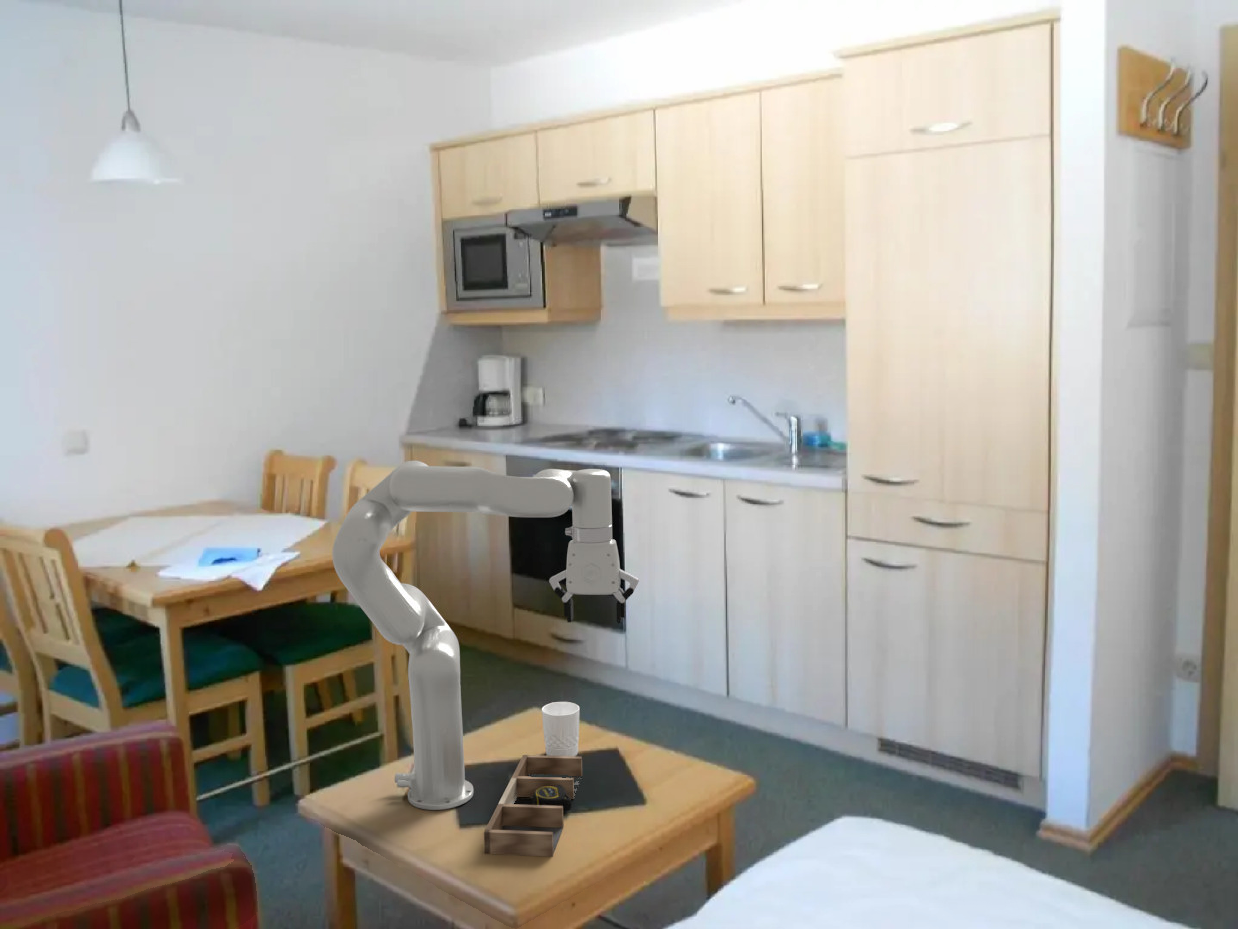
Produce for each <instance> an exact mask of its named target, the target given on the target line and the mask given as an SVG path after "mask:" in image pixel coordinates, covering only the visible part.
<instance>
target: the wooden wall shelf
mask: <svg viewBox="0 0 1238 929" xmlns="http://www.w3.org/2000/svg"><path fill="white" fill-rule="evenodd" d="M528 774H530V776H529V775H528ZM532 774H537V775H538V774H544V775H546V774H552V775H568V776H572V777H571V778H570V777H566V778H562V777H531V775H532ZM577 776H578V777H577ZM580 776H582V777H583V757H582V756H578V755H576V756H547V755H541V754H540V755H539V754H538V755H537V754H535V755H533V754H532V755H531V754H523V755H522V757H521V759H520V761H519V762H518V764H517V766H516V768H515V770H514V772H513V774H512V776H511V778H510V780H509V782H508V784H507V785H506V788H505V790H504V792H503V794H502V796H501V798H500V800H499V802H498V804H497V805H496V808H495V809H494V811H493V814H492V816H491V818H490V820H489V822H488V823H487V826H486V827H485V829H484V832H483V840H484V841H483V842H484V843H483V844H484V854H487V855H506V856H507V855H509V856H510V855H511V856H530V857H531V856H536V857H554V854H555V851H556V849H557V845H558V843H559V841H560V838H561V835H562V832H563V829H564V824H565V822H564V812H563V806H549V805H533V804H514V803H516V802H515V801H517V799H518V798H517V797H533V794H534V792H535V791H536V790H537V789H539V788H541V787H545V786H557V785H561V786H562V787H563V788H564V790H565V792H566V794H567V795H568V796H569V797H570V799H574V800H575V797H576V794H577V792H578V789H577V788H576V789H574V785H580V783H578V782H579V781H576V782H575V783H574V779H579V778H580ZM580 779H581V780H582V778H580ZM574 791H575V793H576V794H575V793H574ZM576 791H577V792H576ZM574 796H575V797H574ZM516 798H517V799H516Z"/></svg>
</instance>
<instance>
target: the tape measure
mask: <svg viewBox="0 0 1238 929" xmlns="http://www.w3.org/2000/svg"><path fill="white" fill-rule="evenodd" d="M572 803H573V802H572V800H571V799H570V797H569V796H568V795H567V794H566V792H565V790H564V788H563V787H562V786H561V785H557V786H545V787H541V788H539V789H537V790H536V791H535V792H534V794H533V798H532V805H549V806H563V813H565V812H569V811H570V810H571V809H572V806H573V804H572Z"/></svg>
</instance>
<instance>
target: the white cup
mask: <svg viewBox="0 0 1238 929" xmlns="http://www.w3.org/2000/svg"><path fill="white" fill-rule="evenodd" d="M541 715H542V727H543V728H542V729H543V730H542V731H543V738H544V740H543V741H544V745H545V756H578V753H579V739H580V735H579V734H580V706H579V705H578V704H576V703H574V702H569V701H556V702H551V703H548V704H545V705H543V706H542V708H541Z"/></svg>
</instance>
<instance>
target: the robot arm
mask: <svg viewBox="0 0 1238 929" xmlns="http://www.w3.org/2000/svg"><path fill="white" fill-rule="evenodd" d="M611 478H612V477H611V474H610V473H609V472H608V471H607V470H605V469H599V468H585V469H580V470H571V469H569V470H568V469H567V470H566V469H557V468H556V469H555V468H547V469H542V470H540V471H539V472H537V473H536V474H535V475H534V476H533V477H531V476H513V475H505V474H500V473H496V472H494V471H491V470H489V469H486V468H482V467H479V466H439V465H438V466H435V465H433V466H432V465H428V464H426V463H425V462H423V461H420V460H407V461H404V462H402V463H400V464H399V465H398V466H397V467H396V468H394V469H393V470H392V471H391V472H390V473H389V474H388V475H387V476H386V477H385V478H383V479H382V480H381V481H380V482H378V483H377V485H375V486H374V487H373V488H372V489H371V490H369V491H368V492H367V493H366V494H365V495H364V496H362V497H361V498H360V499H359V500H357V502H355V504H354V505H353V506H352V507H350V509H349V511H348V512H347V515H346V516H345V518H344V520H343V521H342V523H341V525H340V526H339V529H338V532H337V534H336V536H335V539H334V542H333V546H332V553H331V554H332V563H333V567H334V570H335V572H336V574H337V576H338V578H339V580H340V581H341V583H342V584H343V585H344V587H345V588H346V589H347V591H348V592H349V593H350V595H351V596H352V597H353V599H354V600H355V602H356V603H357V604H358V606H359V607H360V608H361V609H362V611H363V612H364V614H365V615H366V616H367V617H368V619H369V620H370V621H371V622H372V624H373V625H374V627H375V628H376V629H377V631H378V632H379V633H380V635H381V636H382V637H383V638H384V639H385V640H386V641H388V643H389V642H390V643H391V644H394V645H398V646H401V645H402V646H403V647H404V649H405V650H406V651H407V653H408V654H409V658H408V664H407V665H408V667H407V672H408V673H407V674H408V676H407V677H408V685H409V698H410V711H411V714H410V715H411V723H412V742H413V743H412V744H413V745H412V746H413V758H414V759H413V763H414V766H413V767H414V771H412V772H411V773H405V772H396V773H395V775H394V782H395V783H394V784H396V787H397V788H408V789H409V790H408V792H407V800H408V802H409V804H411V805H412V806H414V807H415V808H418V809H421V810H426V811H427V810H428V811H438V810H439V811H440V810H441V811H442V810H448V809H452V808H456V807H459V806H461V805H463V804H465V803H467V802H469V801H470V800H471V799H472V798H473V796H474V786H473V784H472V783H471V782H469V781H468V780H466V779H465V778H466V776H465V773H466V772H465V755H464V754H465V752H464V735H463V734H464V732H463V730H464V729H463V728H464V727H463V715H462V714H463V713H462V709H463V708H462V696H461V694H462V693H461V692H462V691H461V654H460V653H461V652H460V644H459V640H458V637H457V636H456V634H455V632H454V631H453V629H451V627H450V625H449V624H448V623H447V621H446V620H445V619H444V618H443V616H442V615H441V614H440V612H439V611H438V610H437V608H436V607H435V606H434V605H433V603H432V602H431V601H430V599H429V598H428V597H427V596H426V595H425V594H424V593H423V591H422V590H420V589H419V588H417V587H416V586H414V585H411V584H410V583H401V582H400V580H399V578H398V577H396V575H395V573H394V572H393V570H392V569H391V568H390V567H389V566H388V564H386V562H384V561H383V559H382V557H381V554H380V553H381V552H380V551H381V548H382V547H383V546H384V544H385V542H386V540H387V538H388V536H389V534H390V533H391V531H392V530H393V529H394V528H395V527H396V526H398V524H400V523H401V522H403V520H404V519H406V518H407V517H408V516H409V515H410V514H411V513H413V512H417V513H418V512H422V513H425V512H426V513H427V512H429V513H431V512H432V513H433V512H434V513H443V512H445V513H451V512H452V513H479V514H484V515H493V516H494V515H495V516H503V517H514V518H555V517H559V516H561V515H564V514H565V513H566V512H568V510H569V509H572V510H571V512H572V514H571V515H572V516H571V517H572V526H570V527H566V528H565V531H564V533H565V535H566V536H570V537H571V539H572V540H570V541H569V542H568V547H567V554H566V569H565V570H563V571H561V572H559V573H556V574H555V575H552V576H551V577H550V578H549V580H548V582H549V584H550V586H551V587H552V589H553V591H554V593H555V594H556V595H557V596H558V597H559V598H560V600H561V601H562V603H563V611H564V614H563V616H564V617H565V618H567V619H566V620H567V621H566V622H567V623H572V621H573V619H574V614H575V613H574V599H573V598H572V597H573V596H574V595H584V596H585V595H589V596H590V595H592V596H593V595H600V596H601V595H604V596H605V595H613V596H614V597H615V598H616V600H617V601H616V622H617V624H621V623H622V621H623V619H624V618H626V601H627V600H628V599H629V598H630V597H631V596H632V595H633V593H634V592H635V590H636V587H637V585H638V583H639V582H640V579H639V578H638V577H637V576H635V575H632V574H631V573H629V572H626V571H625V570H623V569H621V567H620V566H621V564H620V556H619V549H618V545H617V541H616V540H615V539H613V515H612V514H613V513H612V511H613V510H612V508H613V507H612V480H611ZM564 579H566V580H565V581H566V582H565V585H566V590H565V589H564V588H563V587H562V586H561V585H560V583H559V582H561V581H562V580H564ZM621 580H623V581H626V582H628V584H629V586H628V587H627V589H625V591H624V590H623V588H621V583H622V582H621Z"/></svg>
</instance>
